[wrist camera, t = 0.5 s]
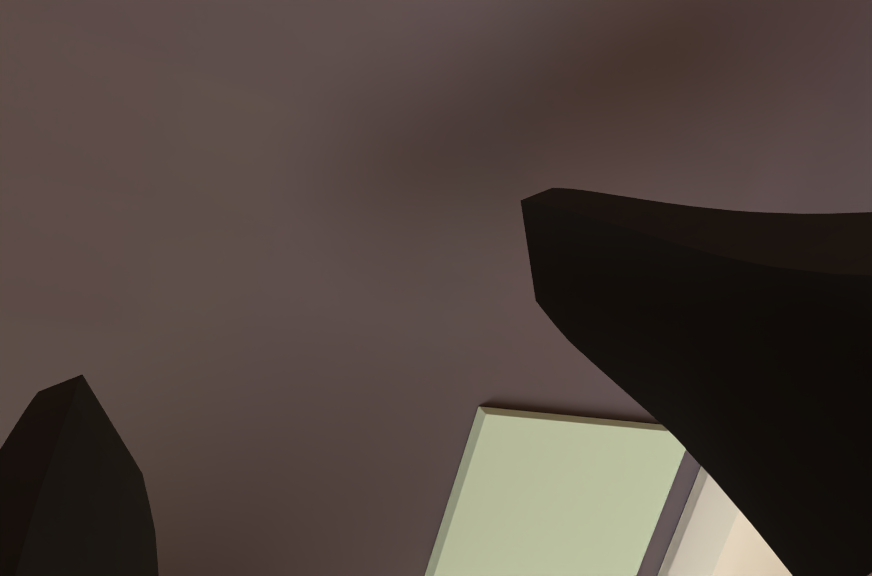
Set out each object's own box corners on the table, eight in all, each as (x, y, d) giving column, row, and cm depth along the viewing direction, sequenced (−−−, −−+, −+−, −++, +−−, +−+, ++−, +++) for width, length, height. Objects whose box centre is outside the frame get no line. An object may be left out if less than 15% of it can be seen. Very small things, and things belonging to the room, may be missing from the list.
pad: (590, 663, 33) (598, 673, 32) (390, 681, 28) (395, 693, 28) (681, 426, 30) (691, 433, 30) (478, 406, 26) (486, 414, 25)
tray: (785, 709, 41) (822, 747, 39) (592, 739, 35) (624, 786, 32) (943, 368, 36) (996, 389, 34) (754, 331, 30) (804, 354, 28)
